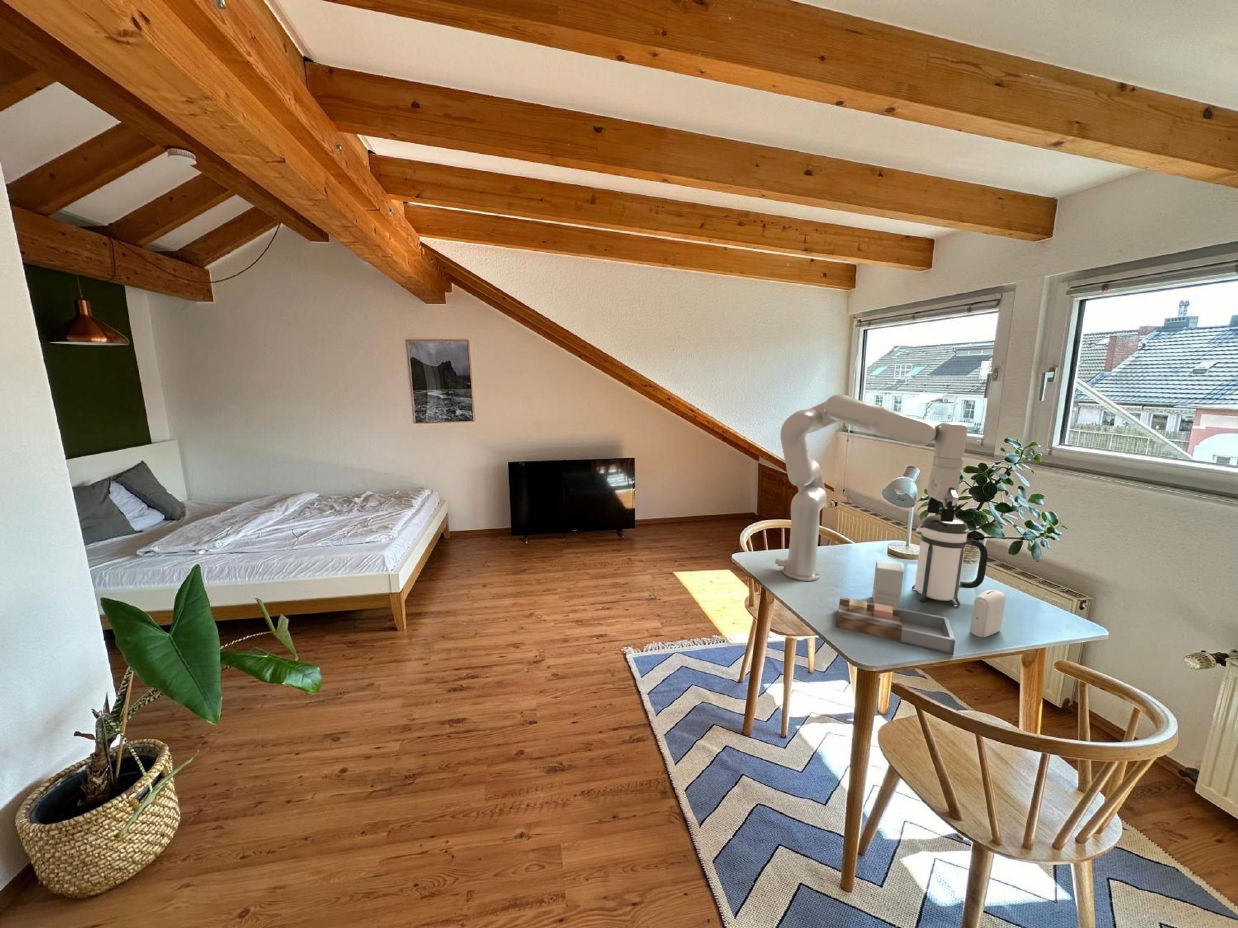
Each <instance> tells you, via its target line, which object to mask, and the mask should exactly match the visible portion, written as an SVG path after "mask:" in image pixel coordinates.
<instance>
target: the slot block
mask: <svg viewBox="0 0 1238 928" xmlns="http://www.w3.org/2000/svg"><path fill="white" fill-rule="evenodd" d="M866 602H867V611H866V615H863V614H858V613H853V612H849V604H850V598H848V597H844V596H843V597H842V596H840V597H839V605H838V611H837V619H836V627H837V628H841V629H845V630H849V631H854V632H859V633H863V634H867V635H872V636H874V637H875V636H876V637H880V638H885V639H890V640H894V641H898V642H900V639H901V629H902V623H901V622H900V609H899V608H900V607H899V608H894V607H892V610H893V616H892V620H887V619H882V618H877V617H874V614H873V612H874V602H868V601H866Z"/></svg>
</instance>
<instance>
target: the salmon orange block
mask: <svg viewBox="0 0 1238 928" xmlns="http://www.w3.org/2000/svg"><path fill="white" fill-rule="evenodd" d="M873 614H874V617H877V618H882V619H887V620H892V616H893V610H892V606H887V605H882V604H876V603H875V604H874V612H873Z"/></svg>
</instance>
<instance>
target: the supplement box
mask: <svg viewBox="0 0 1238 928" xmlns="http://www.w3.org/2000/svg"><path fill="white" fill-rule="evenodd" d="M904 574H905V573H904V570H903V566H902V564H901V563H896V562H895V563H894V562H888V561H882V560H876V561H875V568H874V580H873V587H872V595H871V596H872V600H873V602H872V603H874V604H875V603H876V604H882V605H887V606H892V607H894V608H900V606H901V596H902V589H903V580H904Z"/></svg>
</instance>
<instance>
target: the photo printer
mask: <svg viewBox="0 0 1238 928" xmlns="http://www.w3.org/2000/svg"><path fill="white" fill-rule="evenodd" d="M1005 605H1006V596H1005V594H1004V592H1002V591H999V590H997V589H989V590H988V589H987V590H985V591H982V592H981V593H979V594H978V595H977V596H976V597H975V599H974V602H973V608H972V615H971V622H970V627H969V632H970V633H971V634H972V635H974V636H976V637H979V638H987V637H989V636H991V635H994V634H996V633H998V632H1000V630H1001V628H1002V622H1003V619H1004V618H1003V617H1004V612H1005Z"/></svg>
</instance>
